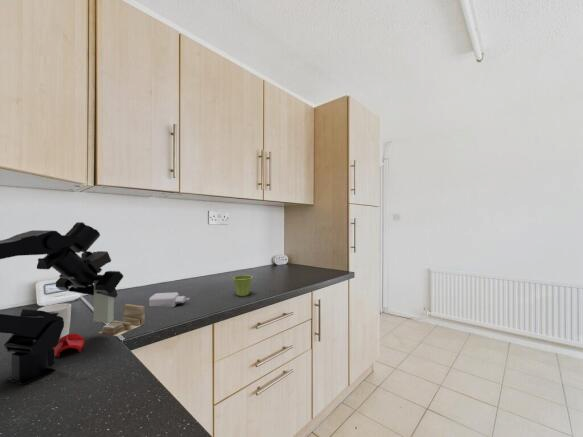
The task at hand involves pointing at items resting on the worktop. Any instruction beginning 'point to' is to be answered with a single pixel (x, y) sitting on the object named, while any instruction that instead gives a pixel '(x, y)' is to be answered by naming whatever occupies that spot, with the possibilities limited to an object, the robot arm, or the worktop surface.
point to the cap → (69, 343)
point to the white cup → (61, 315)
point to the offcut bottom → (113, 331)
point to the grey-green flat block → (103, 307)
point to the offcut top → (113, 326)
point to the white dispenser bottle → (166, 299)
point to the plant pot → (242, 284)
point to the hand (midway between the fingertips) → (107, 295)
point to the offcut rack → (131, 318)
